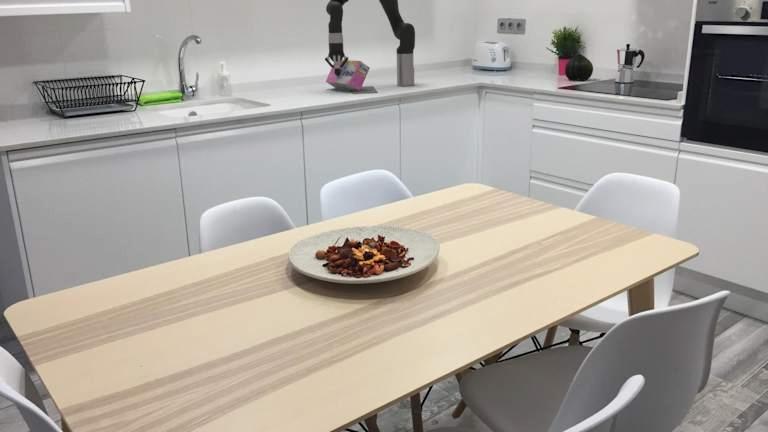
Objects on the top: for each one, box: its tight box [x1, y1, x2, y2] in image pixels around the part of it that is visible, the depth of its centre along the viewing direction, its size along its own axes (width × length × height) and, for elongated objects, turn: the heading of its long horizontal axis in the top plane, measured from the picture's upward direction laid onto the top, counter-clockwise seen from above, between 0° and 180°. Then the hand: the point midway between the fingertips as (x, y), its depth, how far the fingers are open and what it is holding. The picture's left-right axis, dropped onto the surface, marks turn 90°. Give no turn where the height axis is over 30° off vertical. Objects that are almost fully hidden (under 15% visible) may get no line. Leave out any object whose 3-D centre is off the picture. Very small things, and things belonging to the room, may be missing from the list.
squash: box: [564, 53, 594, 82], centre depth 379 cm, size 14×15×15 cm
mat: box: [350, 85, 378, 95], centre depth 364 cm, size 13×26×1 cm, turn 6°
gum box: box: [325, 59, 371, 91], centre depth 363 cm, size 24×8×14 cm
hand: (337, 75), depth 360 cm, fingers closed
